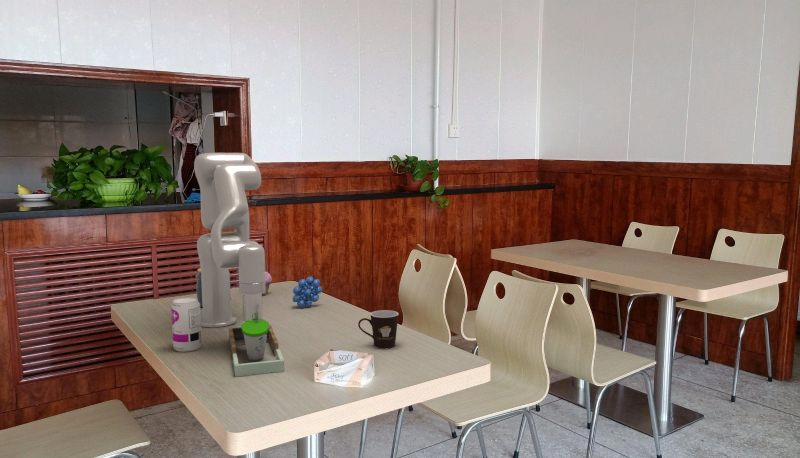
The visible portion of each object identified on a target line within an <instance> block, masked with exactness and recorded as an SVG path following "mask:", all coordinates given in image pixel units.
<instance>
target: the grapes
mask: <svg viewBox="0 0 800 458" xmlns="http://www.w3.org/2000/svg"><path fill="white" fill-rule="evenodd" d="M320 284H321V281H320V279H318V278H316V279H314V277H313V276H311V275H310V276H308V277H306V279H305V278H301V279H299V280H298V285H296V286H295V287H294V288H293V290H292V293H293V294H294V295H293V296H292V302H293V303H296V305H297V307H298V308H303V307H306V308H310V307H312V305H313V303H316V302H318V301H319V300H320V294H321V293H322V291H323V288H322V286H320Z"/></svg>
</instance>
